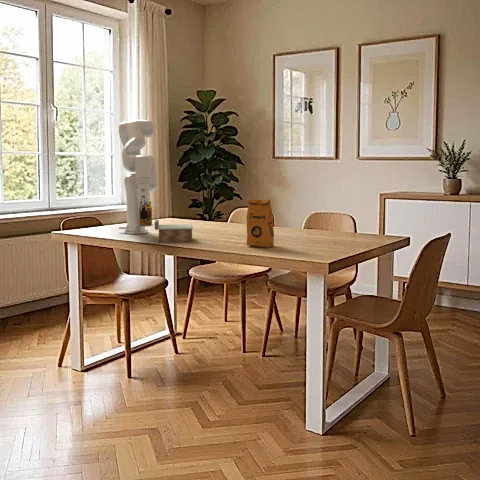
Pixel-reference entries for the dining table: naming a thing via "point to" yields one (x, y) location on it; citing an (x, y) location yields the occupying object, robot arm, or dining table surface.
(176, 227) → the lid
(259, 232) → the coffee package
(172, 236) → the box
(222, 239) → the dining table surface
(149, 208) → the condiment
